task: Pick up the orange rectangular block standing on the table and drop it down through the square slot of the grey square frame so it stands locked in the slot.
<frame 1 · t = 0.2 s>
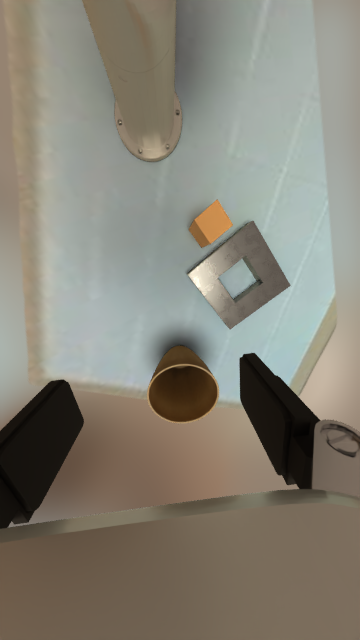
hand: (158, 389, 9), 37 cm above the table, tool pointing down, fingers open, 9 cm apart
orange rectangular block: (203, 231, 40), on the table
grey square frame: (235, 279, 44), on the table
plant pot: (179, 355, 51), on the table
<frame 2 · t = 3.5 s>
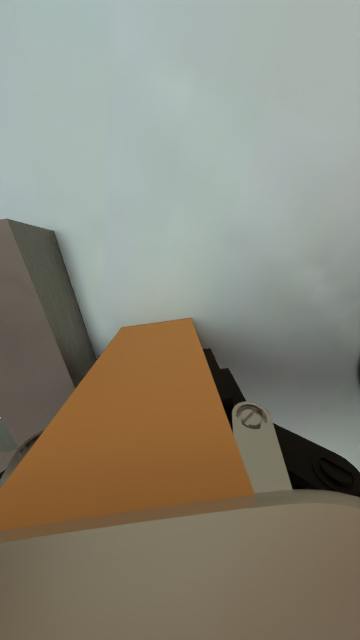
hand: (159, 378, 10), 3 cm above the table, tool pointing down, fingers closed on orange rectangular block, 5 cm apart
orange rectangular block: (162, 353, 13), on the table, touching gripper
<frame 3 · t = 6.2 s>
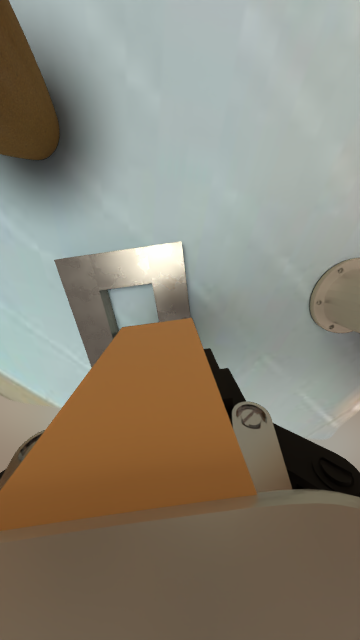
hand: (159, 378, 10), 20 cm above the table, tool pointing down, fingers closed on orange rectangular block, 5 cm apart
orange rectangular block: (162, 353, 13), point 17 cm above the table, touching gripper
grey square frame: (135, 307, 30), on the table
plant pot: (33, 127, 22), on the table
when the fingers open (5 cm above the table, at t = 9.2 s): orange rectangular block drops 2 cm, resting in grey square frame.
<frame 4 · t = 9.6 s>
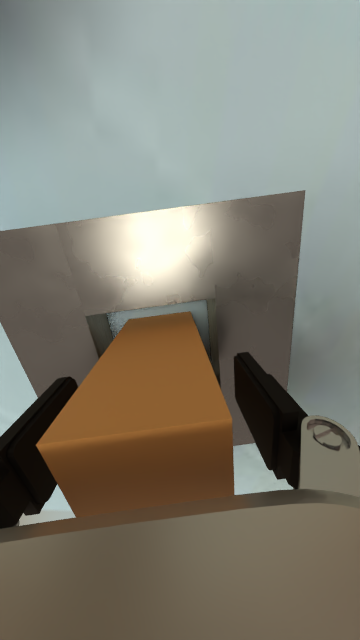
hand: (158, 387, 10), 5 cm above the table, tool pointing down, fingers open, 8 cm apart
orange rectangular block: (164, 343, 15), resting in grey square frame
grey square frame: (163, 343, 15), on the table
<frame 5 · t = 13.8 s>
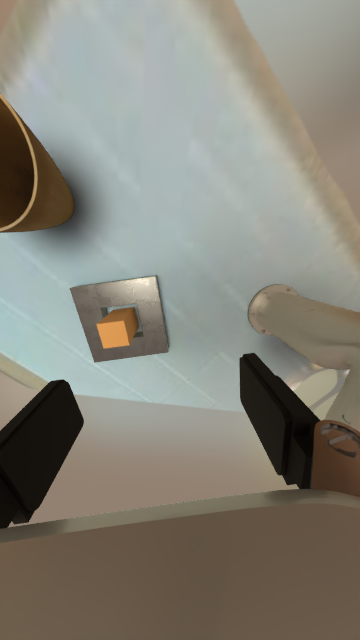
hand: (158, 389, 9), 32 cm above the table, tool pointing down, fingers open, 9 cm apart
orange rectangular block: (126, 318, 42), resting in grey square frame
grey square frame: (126, 318, 41), on the table
plant pot: (56, 203, 34), on the table
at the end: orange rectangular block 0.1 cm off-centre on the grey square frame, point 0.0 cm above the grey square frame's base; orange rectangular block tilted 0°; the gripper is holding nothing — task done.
